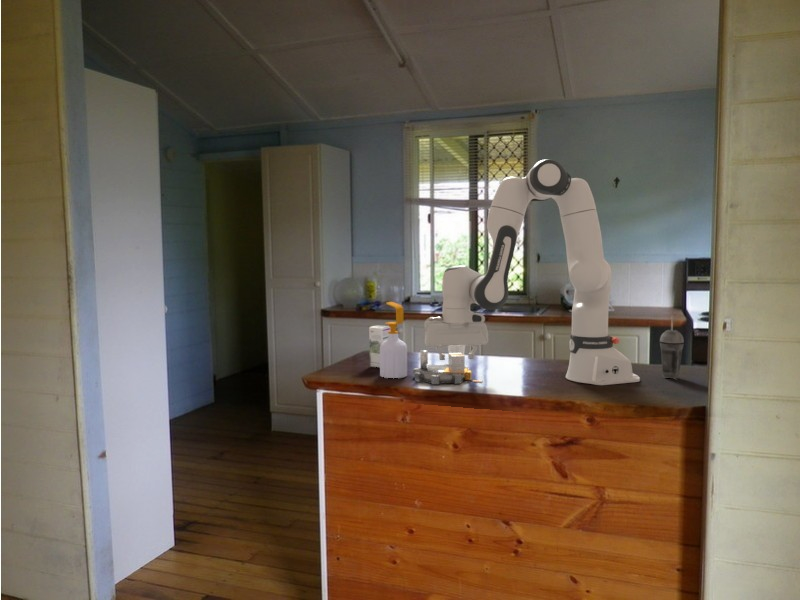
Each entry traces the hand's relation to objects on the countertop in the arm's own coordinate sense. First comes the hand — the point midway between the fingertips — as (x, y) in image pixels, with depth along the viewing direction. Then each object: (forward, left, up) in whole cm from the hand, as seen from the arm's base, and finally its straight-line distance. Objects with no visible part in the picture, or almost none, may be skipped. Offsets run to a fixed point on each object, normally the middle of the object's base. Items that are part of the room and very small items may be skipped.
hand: (456, 359), depth 197 cm
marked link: (0, 0, -4) cm, 4 cm away
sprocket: (+4, -2, -7) cm, 8 cm away
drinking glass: (-5, -22, -7) cm, 23 cm away
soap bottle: (+19, -9, -7) cm, 22 cm away
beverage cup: (-68, +9, -7) cm, 69 cm away
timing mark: (-6, +4, -7) cm, 10 cm away
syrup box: (+22, -25, -7) cm, 34 cm away
